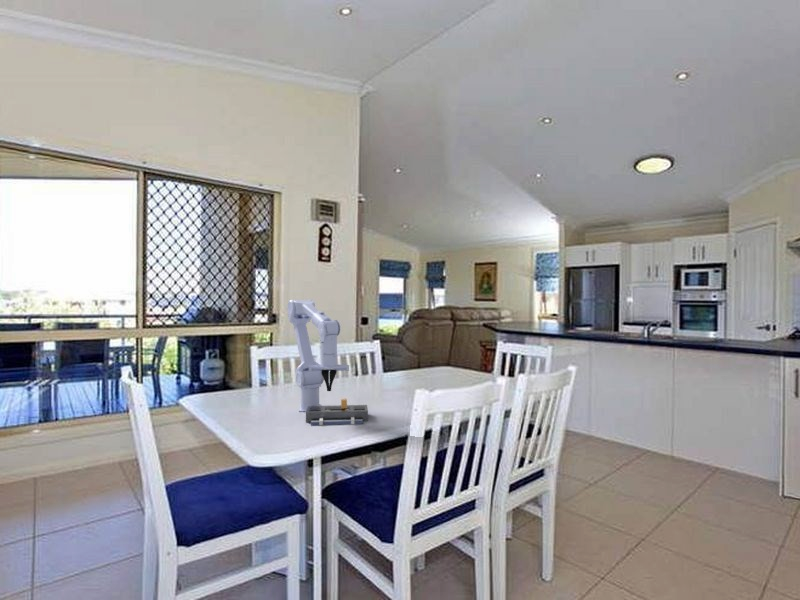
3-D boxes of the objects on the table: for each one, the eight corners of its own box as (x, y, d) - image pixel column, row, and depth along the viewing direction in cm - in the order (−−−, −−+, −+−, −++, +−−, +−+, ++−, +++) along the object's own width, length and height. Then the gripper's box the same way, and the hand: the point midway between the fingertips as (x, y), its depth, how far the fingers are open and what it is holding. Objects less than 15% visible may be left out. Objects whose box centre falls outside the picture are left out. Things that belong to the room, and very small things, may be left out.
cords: (311, 422, 168) (311, 417, 168) (362, 421, 170) (362, 416, 169) (310, 425, 164) (310, 420, 164) (362, 424, 166) (362, 419, 166)
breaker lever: (341, 406, 174) (341, 398, 174) (346, 406, 175) (346, 398, 175) (341, 408, 172) (341, 400, 172) (346, 408, 172) (346, 400, 172)
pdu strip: (308, 415, 176) (308, 405, 176) (366, 414, 179) (367, 404, 179) (305, 422, 168) (305, 412, 167) (367, 420, 170) (368, 410, 170)
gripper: (308, 355, 167) (308, 393, 168) (349, 354, 169) (349, 392, 169) (309, 352, 174) (309, 389, 175) (349, 352, 176) (349, 388, 176)
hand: (329, 390), depth 173 cm, fingers closed
